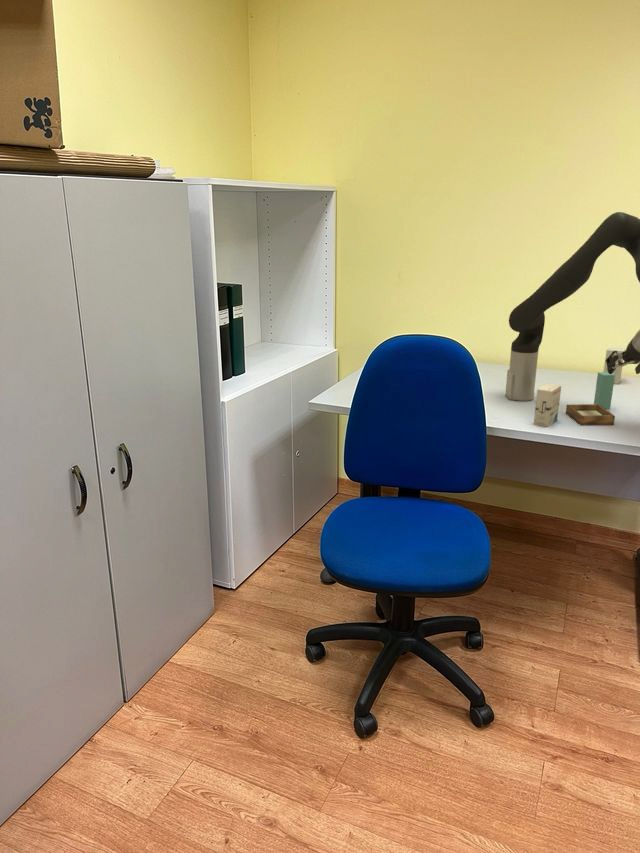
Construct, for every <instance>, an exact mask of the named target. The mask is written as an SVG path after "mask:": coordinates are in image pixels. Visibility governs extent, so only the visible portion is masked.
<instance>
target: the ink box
mask: <svg viewBox="0 0 640 853" xmlns="http://www.w3.org/2000/svg"><path fill="white" fill-rule="evenodd" d="M561 394H562V385H559V384H553V383H552V384H551V383H545V384H544V385H542V386H540V387H539V388H537V390H536V397H535V398H536V400H535V408H534V418H533V424H534V425H537V426H541V427H546V426H547V427H550V426H551V425H553V424H554V423H555V422H556V421H558V415H559V407H560V401H561V400H560V399H561Z"/></svg>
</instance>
